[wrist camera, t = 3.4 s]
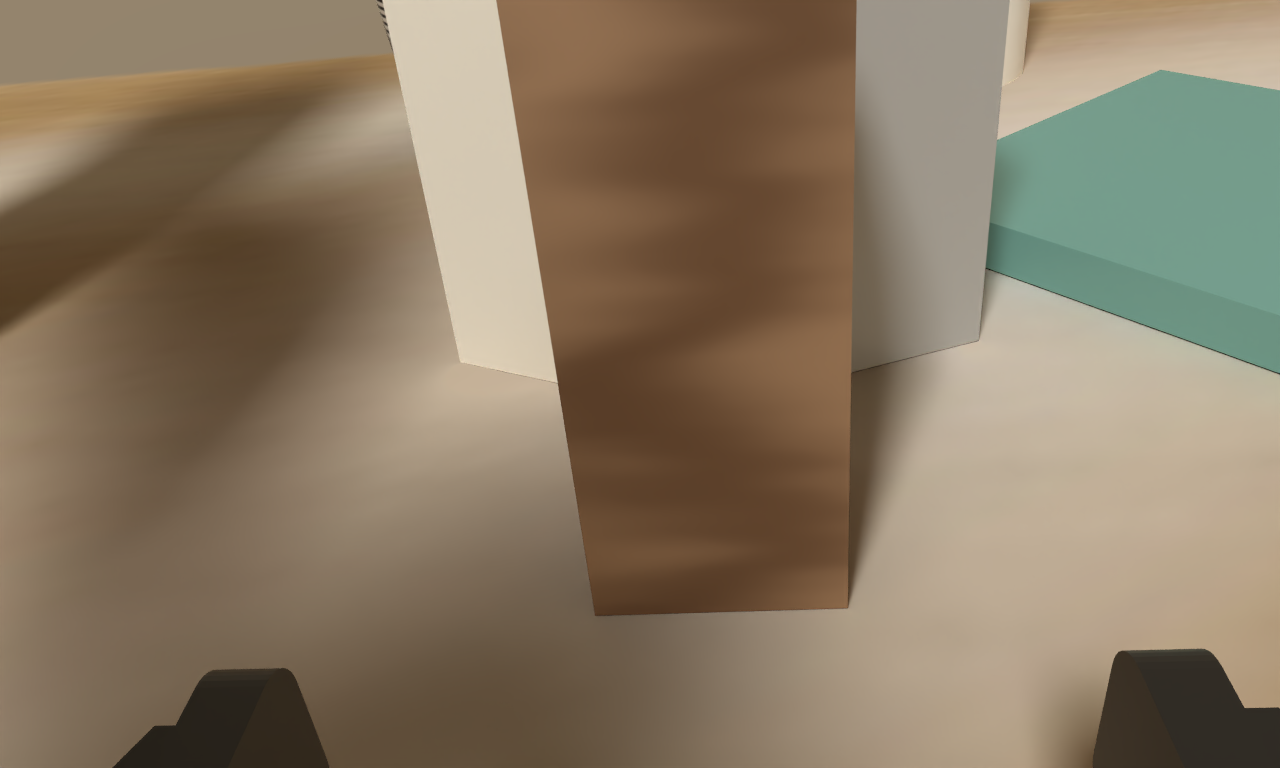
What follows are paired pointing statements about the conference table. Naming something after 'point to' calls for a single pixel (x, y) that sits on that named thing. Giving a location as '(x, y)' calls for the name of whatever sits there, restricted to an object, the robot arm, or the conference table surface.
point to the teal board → (1152, 209)
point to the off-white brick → (473, 180)
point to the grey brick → (923, 172)
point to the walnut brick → (697, 288)
